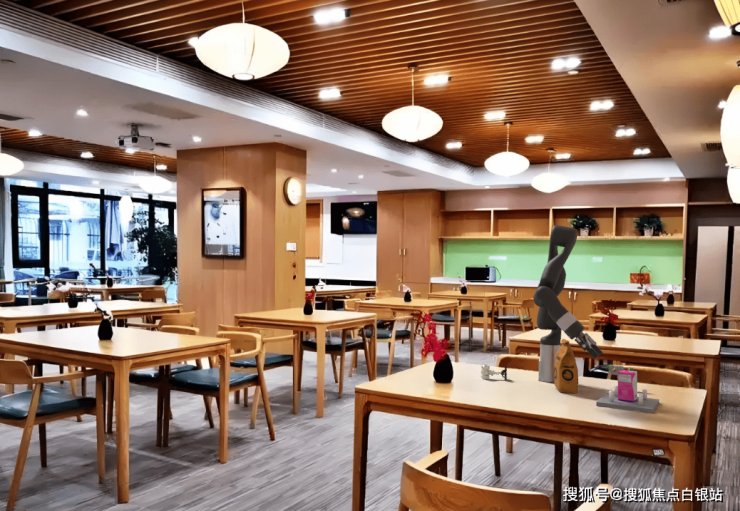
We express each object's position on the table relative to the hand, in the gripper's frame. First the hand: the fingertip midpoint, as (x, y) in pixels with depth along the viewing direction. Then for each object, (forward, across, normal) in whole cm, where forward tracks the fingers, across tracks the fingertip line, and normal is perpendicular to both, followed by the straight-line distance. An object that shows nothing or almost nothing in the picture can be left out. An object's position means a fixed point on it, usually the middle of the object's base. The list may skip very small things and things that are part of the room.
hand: (598, 355), depth 241 cm
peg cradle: (+21, 0, +5) cm, 21 cm away
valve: (-23, +17, +49) cm, 57 cm away
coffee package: (+2, +12, +24) cm, 27 cm away
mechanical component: (+15, +30, +11) cm, 35 cm away
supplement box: (+20, 0, +4) cm, 20 cm away
